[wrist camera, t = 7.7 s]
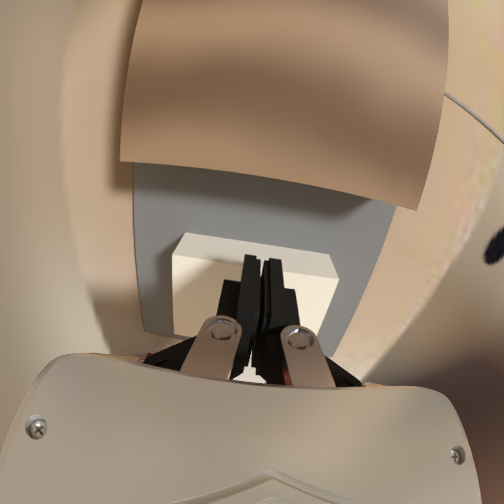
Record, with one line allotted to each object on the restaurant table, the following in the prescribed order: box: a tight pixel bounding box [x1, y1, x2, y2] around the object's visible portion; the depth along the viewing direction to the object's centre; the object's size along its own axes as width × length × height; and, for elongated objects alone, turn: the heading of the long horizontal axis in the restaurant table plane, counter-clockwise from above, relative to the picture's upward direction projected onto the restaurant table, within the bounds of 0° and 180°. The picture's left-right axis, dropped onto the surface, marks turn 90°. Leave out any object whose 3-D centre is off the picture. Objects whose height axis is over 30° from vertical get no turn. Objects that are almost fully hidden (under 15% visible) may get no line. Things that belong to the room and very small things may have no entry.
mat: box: [134, 162, 397, 357], centre depth 18 cm, size 14×16×1 cm
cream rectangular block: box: [172, 232, 339, 337], centre depth 17 cm, size 6×9×3 cm, turn 81°
